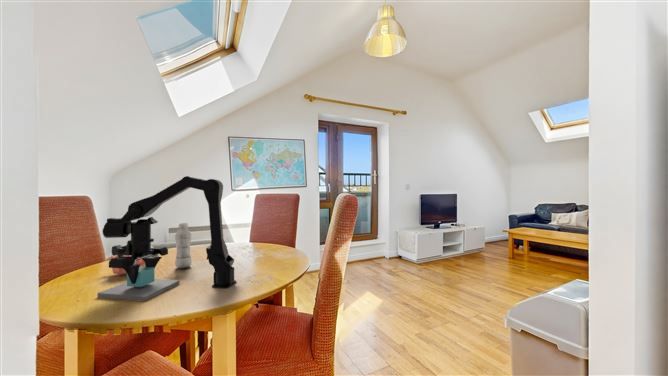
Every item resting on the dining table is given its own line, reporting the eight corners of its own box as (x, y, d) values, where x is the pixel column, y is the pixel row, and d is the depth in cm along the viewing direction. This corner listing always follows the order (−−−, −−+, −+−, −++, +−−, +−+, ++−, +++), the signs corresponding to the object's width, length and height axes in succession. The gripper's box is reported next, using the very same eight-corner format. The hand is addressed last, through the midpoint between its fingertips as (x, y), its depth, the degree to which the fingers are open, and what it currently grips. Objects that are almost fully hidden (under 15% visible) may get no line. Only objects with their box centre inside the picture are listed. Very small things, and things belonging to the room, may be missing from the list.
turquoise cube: (154, 281, 96) (154, 267, 96) (140, 286, 91) (140, 272, 91) (141, 280, 97) (141, 266, 97) (126, 285, 92) (126, 271, 92)
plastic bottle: (184, 270, 116) (184, 225, 116) (171, 269, 118) (171, 224, 118) (195, 266, 123) (195, 223, 123) (182, 265, 124) (182, 222, 124)
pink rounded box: (109, 273, 112) (108, 250, 112) (143, 267, 121) (143, 246, 121) (111, 280, 104) (111, 255, 104) (148, 273, 113) (148, 250, 112)
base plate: (179, 284, 100) (179, 280, 100) (144, 301, 85) (144, 296, 85) (137, 281, 103) (137, 277, 103) (97, 297, 88) (97, 293, 88)
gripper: (143, 231, 104) (144, 271, 104) (94, 241, 86) (94, 289, 86) (169, 232, 103) (169, 272, 103) (123, 242, 84) (123, 291, 84)
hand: (141, 280), depth 94 cm, fingers closed on turquoise cube, 5 cm apart
